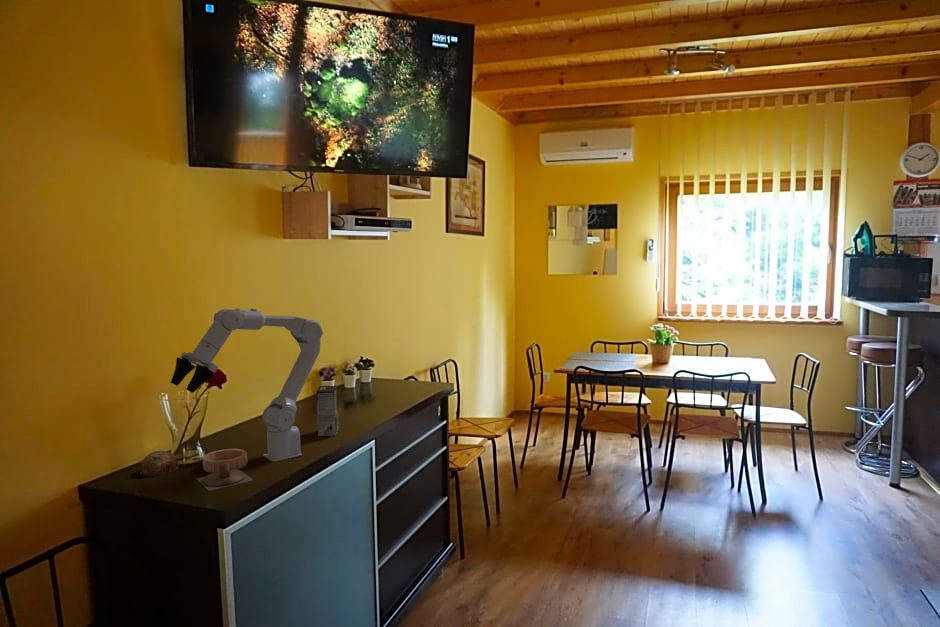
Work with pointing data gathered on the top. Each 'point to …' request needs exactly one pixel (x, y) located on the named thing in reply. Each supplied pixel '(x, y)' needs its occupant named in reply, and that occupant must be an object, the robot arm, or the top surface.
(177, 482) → the top surface
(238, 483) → the mat
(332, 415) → the coffee box
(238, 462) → the bowl
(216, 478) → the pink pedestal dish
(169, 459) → the bread roll
